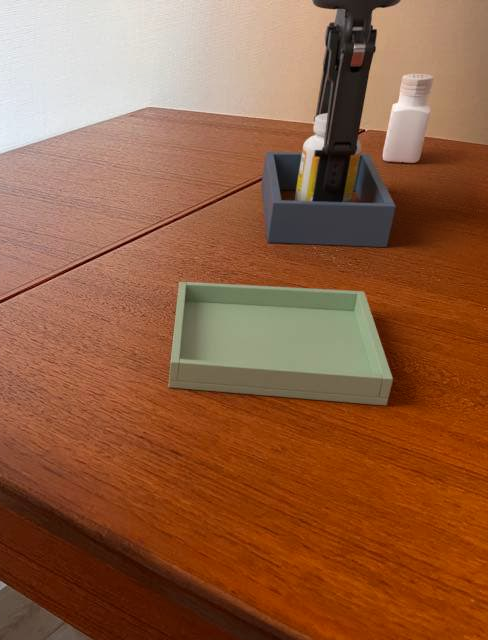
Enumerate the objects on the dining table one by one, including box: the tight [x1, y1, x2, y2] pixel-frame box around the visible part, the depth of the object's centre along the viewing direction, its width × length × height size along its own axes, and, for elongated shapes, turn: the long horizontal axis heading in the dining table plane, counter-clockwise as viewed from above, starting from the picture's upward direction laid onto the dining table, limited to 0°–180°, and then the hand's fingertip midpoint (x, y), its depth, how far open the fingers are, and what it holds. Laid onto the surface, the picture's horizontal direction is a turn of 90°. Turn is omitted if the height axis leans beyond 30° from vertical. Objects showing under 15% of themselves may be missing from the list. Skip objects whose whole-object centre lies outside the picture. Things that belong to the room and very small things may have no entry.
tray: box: [167, 281, 394, 407], centre depth 64 cm, size 14×14×2 cm
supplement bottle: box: [294, 113, 362, 202], centre depth 86 cm, size 5×5×10 cm
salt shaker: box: [382, 73, 434, 164], centre depth 101 cm, size 4×4×10 cm
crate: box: [260, 151, 397, 248], centre depth 88 cm, size 11×18×4 cm, turn 165°
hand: (321, 209), depth 88 cm, fingers closed on supplement bottle, 5 cm apart
